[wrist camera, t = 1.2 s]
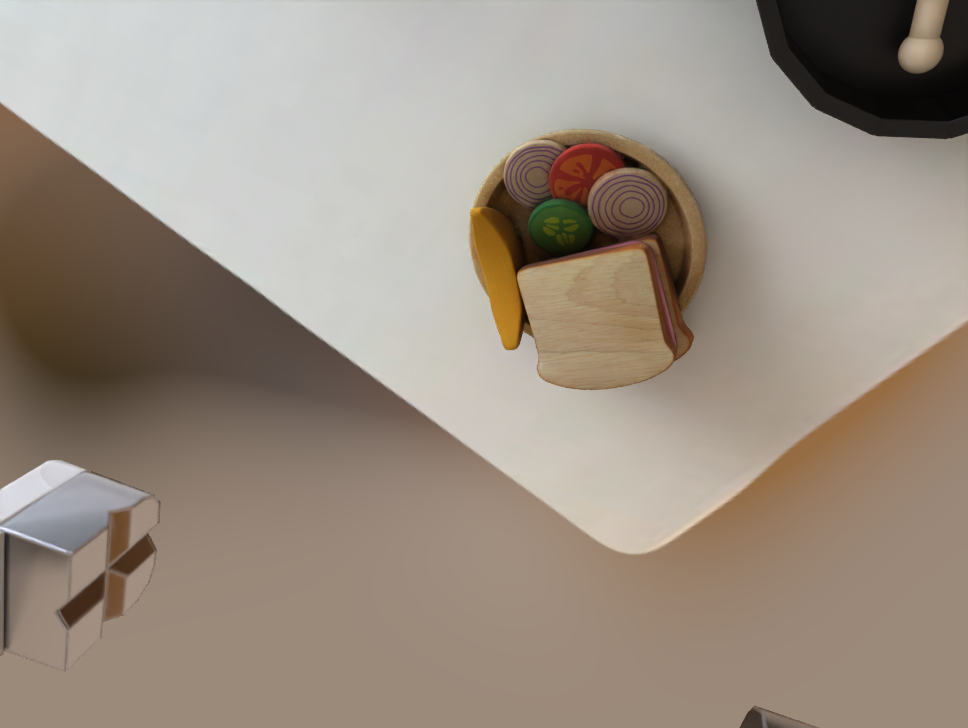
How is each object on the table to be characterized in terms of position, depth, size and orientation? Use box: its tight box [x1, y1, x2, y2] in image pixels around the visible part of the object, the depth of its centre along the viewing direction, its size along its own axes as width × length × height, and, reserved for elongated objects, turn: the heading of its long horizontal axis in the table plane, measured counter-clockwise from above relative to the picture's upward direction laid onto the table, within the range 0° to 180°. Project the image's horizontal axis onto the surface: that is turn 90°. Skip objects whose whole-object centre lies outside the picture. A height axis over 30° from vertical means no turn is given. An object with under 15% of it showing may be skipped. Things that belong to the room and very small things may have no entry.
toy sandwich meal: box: [469, 129, 707, 390], centre depth 40 cm, size 12×14×5 cm
